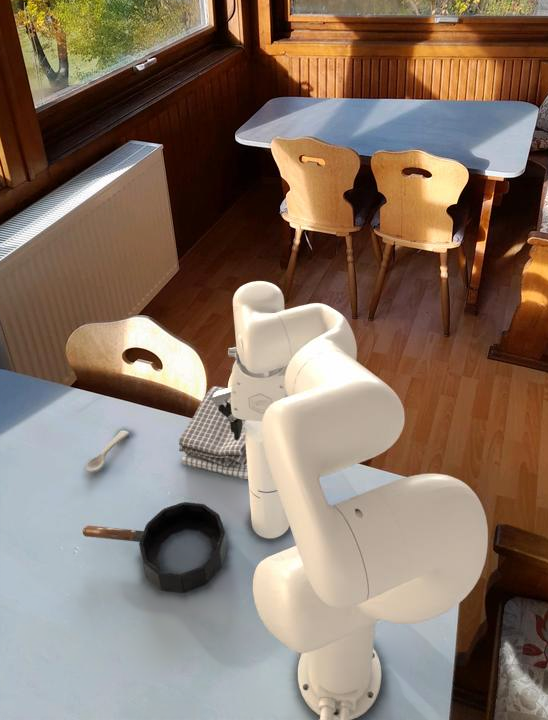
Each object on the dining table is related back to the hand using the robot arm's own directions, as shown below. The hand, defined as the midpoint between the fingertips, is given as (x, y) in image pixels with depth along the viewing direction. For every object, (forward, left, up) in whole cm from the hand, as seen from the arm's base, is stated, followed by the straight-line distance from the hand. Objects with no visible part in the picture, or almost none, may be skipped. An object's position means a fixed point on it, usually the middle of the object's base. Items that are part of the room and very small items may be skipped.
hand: (266, 436), depth 111 cm
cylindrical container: (0, 0, -23) cm, 23 cm away
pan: (-8, +20, -23) cm, 31 cm away
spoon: (+12, +36, -23) cm, 45 cm away
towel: (+18, +12, -23) cm, 32 cm away
